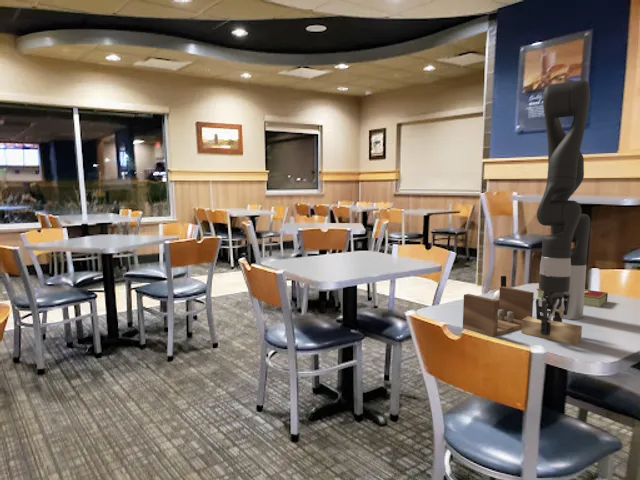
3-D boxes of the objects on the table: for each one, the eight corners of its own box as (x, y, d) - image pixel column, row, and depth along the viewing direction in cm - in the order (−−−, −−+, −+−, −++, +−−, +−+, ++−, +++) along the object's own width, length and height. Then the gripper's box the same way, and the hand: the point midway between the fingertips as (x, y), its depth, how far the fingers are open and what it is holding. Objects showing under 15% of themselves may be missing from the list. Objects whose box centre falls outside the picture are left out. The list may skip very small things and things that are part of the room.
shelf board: (521, 333, 127) (522, 319, 126) (527, 329, 131) (527, 316, 130) (576, 344, 118) (577, 330, 117) (581, 340, 121) (582, 325, 121)
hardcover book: (545, 293, 178) (546, 283, 178) (607, 302, 164) (607, 291, 163) (536, 299, 169) (536, 288, 169) (599, 309, 155) (600, 297, 155)
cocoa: (499, 307, 157) (496, 273, 157) (517, 308, 153) (515, 273, 153) (489, 311, 149) (487, 276, 149) (509, 312, 145) (506, 275, 145)
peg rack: (501, 317, 143) (503, 286, 142) (531, 324, 135) (533, 292, 134) (462, 327, 132) (463, 294, 130) (492, 336, 123) (494, 301, 122)
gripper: (554, 268, 129) (550, 325, 131) (527, 273, 121) (524, 333, 123) (581, 272, 123) (577, 331, 125) (555, 277, 115) (551, 341, 117)
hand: (551, 332), depth 124 cm, fingers closed on shelf board, 5 cm apart
